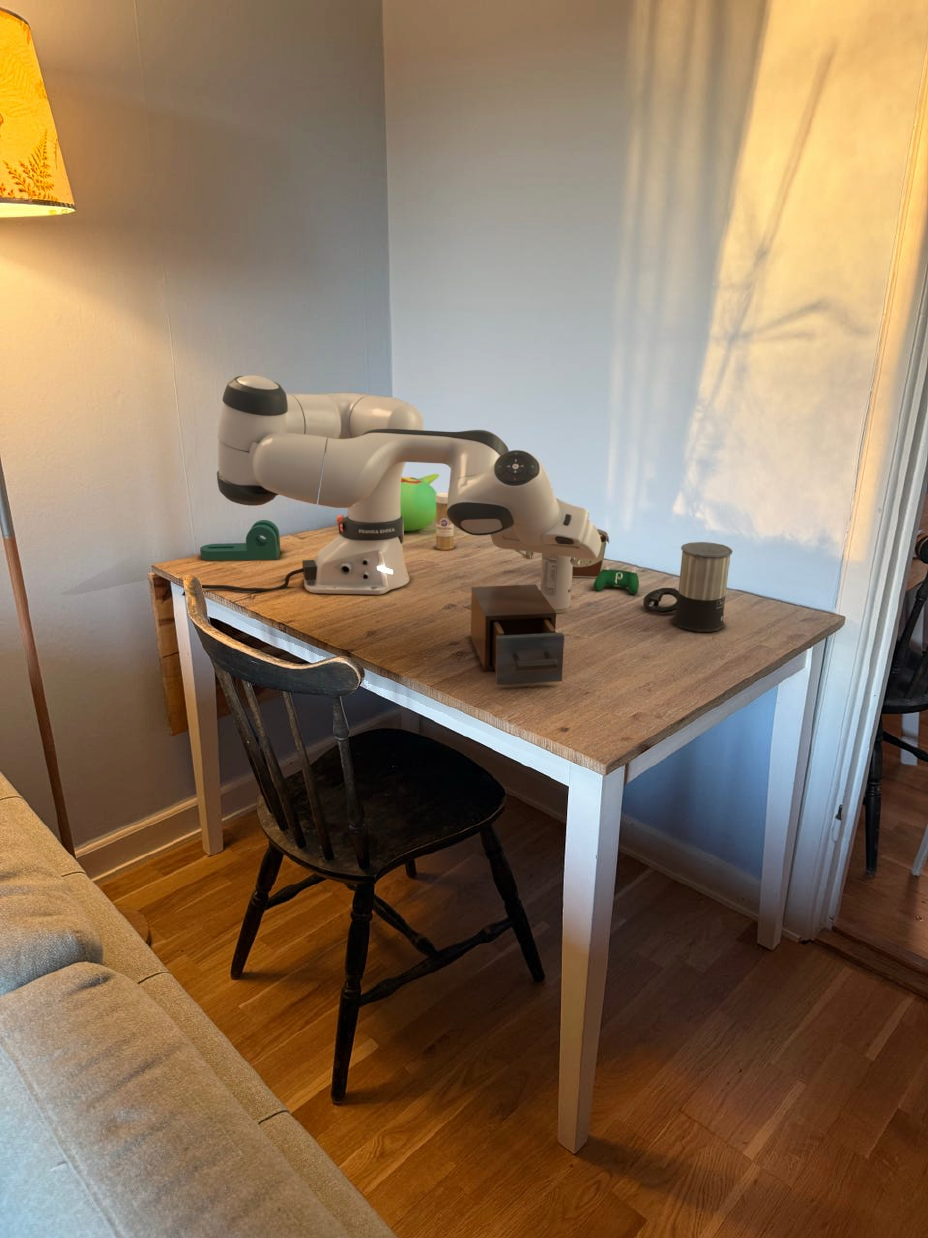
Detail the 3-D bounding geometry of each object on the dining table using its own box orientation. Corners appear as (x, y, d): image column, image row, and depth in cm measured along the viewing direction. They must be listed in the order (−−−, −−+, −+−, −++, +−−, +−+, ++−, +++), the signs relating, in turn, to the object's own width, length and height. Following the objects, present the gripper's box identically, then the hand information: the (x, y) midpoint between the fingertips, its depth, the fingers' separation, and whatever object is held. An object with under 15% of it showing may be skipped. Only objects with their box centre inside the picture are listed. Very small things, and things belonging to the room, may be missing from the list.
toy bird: (364, 535, 213) (362, 479, 208) (381, 520, 228) (379, 467, 223) (433, 539, 210) (432, 482, 205) (445, 523, 226) (445, 469, 221)
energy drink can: (575, 612, 161) (579, 537, 155) (546, 615, 159) (549, 540, 154) (563, 602, 166) (566, 530, 161) (535, 605, 165) (538, 532, 159)
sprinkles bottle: (437, 550, 200) (436, 496, 196) (434, 545, 205) (434, 492, 200) (455, 549, 201) (455, 495, 196) (452, 544, 205) (452, 491, 201)
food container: (605, 569, 187) (608, 526, 183) (606, 578, 181) (610, 534, 178) (550, 567, 188) (552, 525, 184) (550, 576, 182) (552, 532, 179)
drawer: (570, 694, 125) (572, 647, 122) (502, 698, 123) (503, 650, 120) (541, 648, 142) (543, 605, 139) (482, 651, 140) (482, 608, 137)
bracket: (280, 551, 199) (278, 519, 196) (277, 559, 193) (274, 526, 190) (204, 552, 197) (200, 520, 195) (198, 561, 191) (194, 528, 188)
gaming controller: (637, 600, 173) (642, 575, 175) (637, 592, 169) (641, 566, 172) (594, 595, 176) (598, 571, 178) (592, 587, 172) (597, 562, 175)
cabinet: (553, 667, 136) (556, 612, 133) (484, 670, 135) (485, 616, 131) (533, 634, 150) (535, 584, 147) (470, 637, 148) (471, 587, 145)
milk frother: (721, 636, 150) (731, 557, 144) (634, 624, 155) (641, 548, 150) (726, 611, 162) (736, 537, 157) (646, 601, 167) (652, 530, 162)
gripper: (477, 528, 147) (497, 566, 159) (587, 541, 139) (600, 580, 151) (487, 498, 150) (506, 538, 161) (596, 510, 142) (608, 551, 153)
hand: (552, 558), depth 156 cm, fingers open, 8 cm apart
